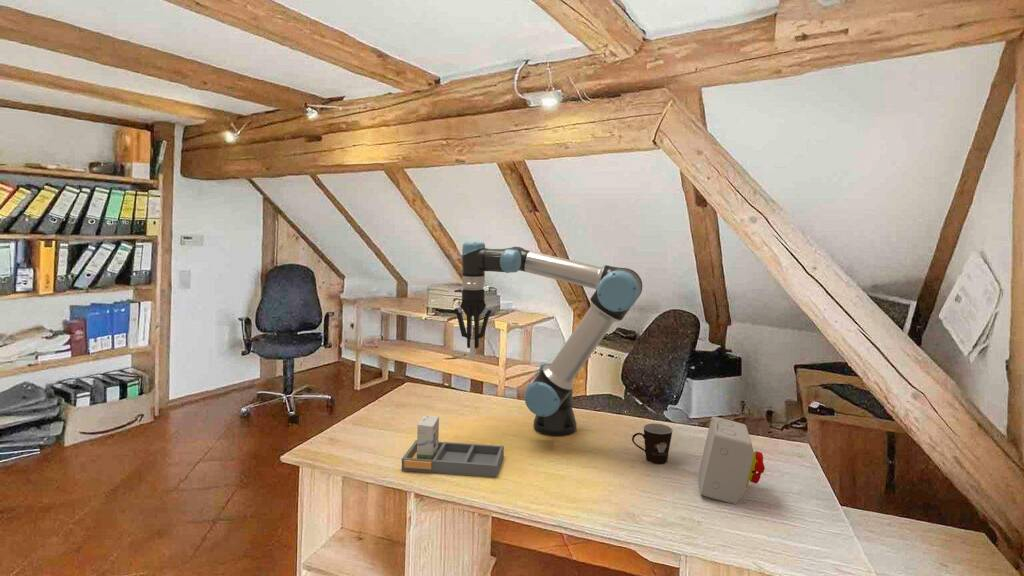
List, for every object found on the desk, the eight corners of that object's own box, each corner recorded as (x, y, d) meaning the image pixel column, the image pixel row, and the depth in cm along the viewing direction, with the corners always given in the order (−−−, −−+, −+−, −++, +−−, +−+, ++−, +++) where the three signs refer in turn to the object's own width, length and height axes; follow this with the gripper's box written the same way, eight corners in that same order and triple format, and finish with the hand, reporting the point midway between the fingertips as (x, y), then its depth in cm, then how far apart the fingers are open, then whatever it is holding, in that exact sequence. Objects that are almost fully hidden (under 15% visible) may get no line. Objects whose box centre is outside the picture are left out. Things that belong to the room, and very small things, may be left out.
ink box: (422, 451, 172) (422, 414, 171) (439, 452, 172) (439, 415, 171) (416, 463, 164) (415, 424, 162) (433, 464, 164) (433, 425, 162)
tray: (503, 456, 172) (503, 445, 172) (496, 478, 158) (496, 466, 157) (416, 450, 176) (416, 440, 175) (401, 471, 161) (400, 459, 161)
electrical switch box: (758, 516, 144) (777, 445, 140) (699, 499, 148) (715, 429, 144) (752, 490, 157) (768, 425, 154) (697, 475, 161) (713, 411, 158)
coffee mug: (671, 456, 174) (673, 425, 173) (669, 467, 166) (671, 435, 165) (634, 450, 178) (635, 420, 177) (630, 461, 170) (631, 430, 169)
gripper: (451, 289, 182) (451, 359, 185) (490, 290, 181) (489, 361, 184) (456, 286, 190) (456, 353, 193) (494, 287, 188) (493, 355, 191)
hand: (472, 357), depth 188 cm, fingers closed
